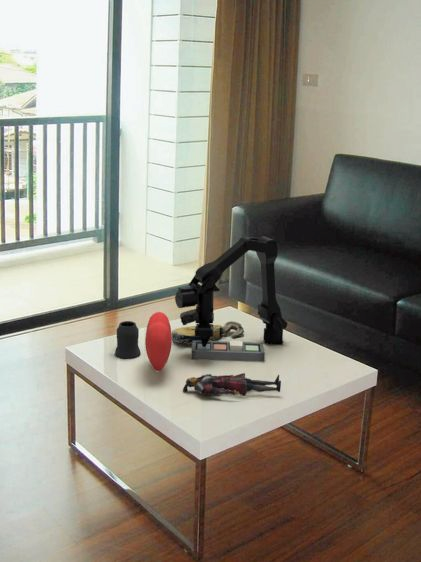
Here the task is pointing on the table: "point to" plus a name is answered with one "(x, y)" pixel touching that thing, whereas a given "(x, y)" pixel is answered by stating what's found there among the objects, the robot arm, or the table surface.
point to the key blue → (203, 347)
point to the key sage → (251, 348)
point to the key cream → (236, 346)
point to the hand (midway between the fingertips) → (204, 346)
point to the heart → (158, 340)
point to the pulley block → (188, 336)
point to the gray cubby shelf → (227, 352)
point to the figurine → (229, 384)
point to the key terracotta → (219, 347)
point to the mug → (127, 341)
